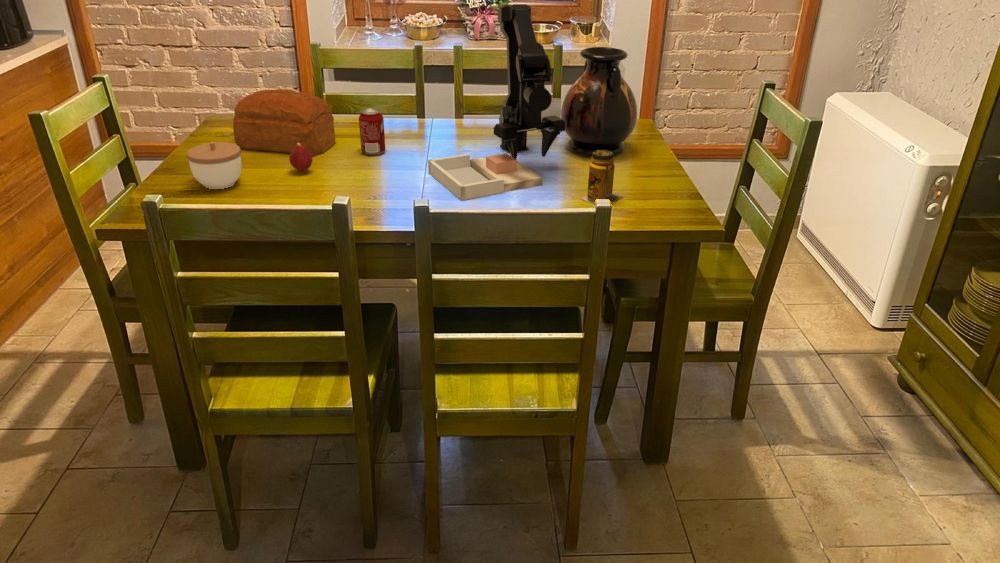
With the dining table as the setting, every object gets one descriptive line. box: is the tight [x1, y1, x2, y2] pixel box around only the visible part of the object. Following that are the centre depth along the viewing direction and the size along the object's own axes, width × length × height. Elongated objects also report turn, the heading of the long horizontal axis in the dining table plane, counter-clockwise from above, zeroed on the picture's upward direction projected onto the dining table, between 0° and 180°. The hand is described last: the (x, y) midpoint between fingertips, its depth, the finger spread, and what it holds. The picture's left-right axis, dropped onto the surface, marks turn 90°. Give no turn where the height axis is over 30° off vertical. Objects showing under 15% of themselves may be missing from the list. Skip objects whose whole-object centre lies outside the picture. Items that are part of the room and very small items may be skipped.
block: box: [485, 152, 518, 175], centre depth 192 cm, size 6×6×3 cm
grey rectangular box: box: [537, 97, 562, 133], centre depth 227 cm, size 4×7×10 cm, turn 87°
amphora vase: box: [560, 46, 638, 158], centre depth 207 cm, size 22×22×28 cm
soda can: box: [358, 107, 386, 156], centre depth 206 cm, size 7×7×12 cm
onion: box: [289, 143, 313, 173], centre depth 193 cm, size 6×6×8 cm
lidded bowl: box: [186, 141, 243, 190], centre depth 183 cm, size 13×13×11 cm
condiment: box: [580, 150, 624, 204], centre depth 179 cm, size 7×8×12 cm
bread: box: [232, 88, 336, 156], centre depth 210 cm, size 16×27×16 cm, turn 76°
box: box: [427, 153, 505, 201], centre depth 189 cm, size 12×21×4 cm, turn 27°
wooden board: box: [470, 156, 543, 193], centre depth 194 cm, size 11×20×2 cm, turn 27°
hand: (528, 158), depth 196 cm, fingers open, 8 cm apart
